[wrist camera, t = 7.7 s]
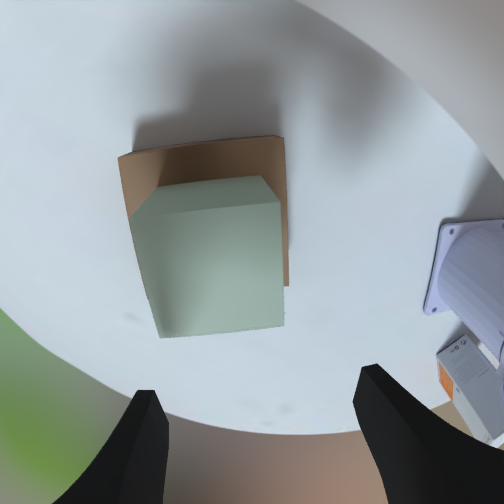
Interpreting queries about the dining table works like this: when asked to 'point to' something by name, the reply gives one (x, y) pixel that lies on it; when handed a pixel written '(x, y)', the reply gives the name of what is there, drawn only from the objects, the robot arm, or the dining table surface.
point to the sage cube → (211, 256)
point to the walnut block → (207, 171)
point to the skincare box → (473, 389)
